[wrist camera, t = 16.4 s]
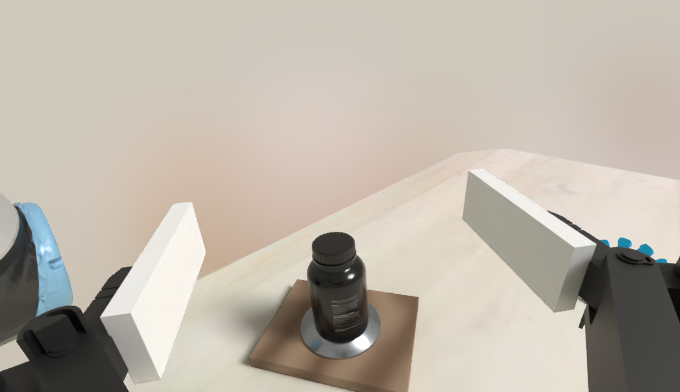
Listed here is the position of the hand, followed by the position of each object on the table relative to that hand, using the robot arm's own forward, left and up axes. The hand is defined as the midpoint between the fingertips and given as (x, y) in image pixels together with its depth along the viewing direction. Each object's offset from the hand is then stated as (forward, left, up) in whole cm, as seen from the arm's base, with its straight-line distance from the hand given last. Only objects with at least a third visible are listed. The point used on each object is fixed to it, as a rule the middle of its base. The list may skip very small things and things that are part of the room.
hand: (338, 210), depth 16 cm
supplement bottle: (-6, +16, -25) cm, 30 cm away
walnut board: (-6, +16, -27) cm, 31 cm away
